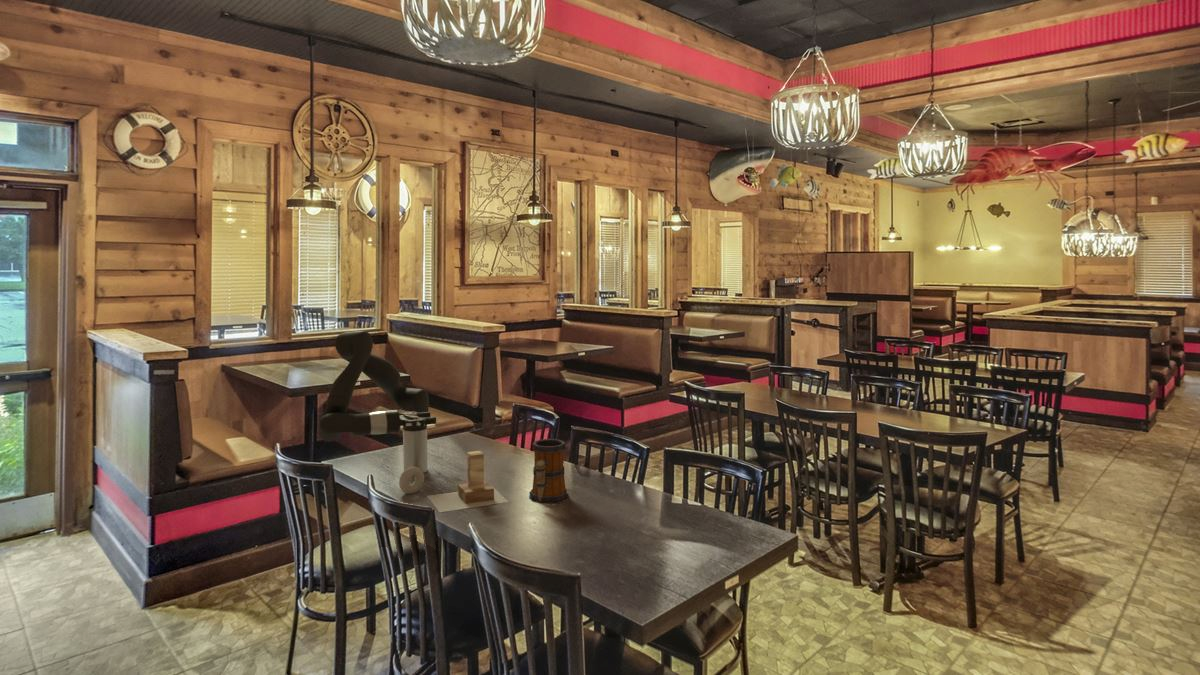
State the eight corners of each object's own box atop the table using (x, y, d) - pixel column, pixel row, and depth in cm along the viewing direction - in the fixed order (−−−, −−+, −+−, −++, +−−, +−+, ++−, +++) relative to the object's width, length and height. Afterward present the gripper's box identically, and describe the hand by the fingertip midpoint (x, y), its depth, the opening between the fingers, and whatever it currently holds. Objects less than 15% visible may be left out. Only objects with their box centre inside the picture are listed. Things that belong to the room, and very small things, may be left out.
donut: (403, 498, 242) (402, 470, 241) (397, 496, 244) (396, 469, 243) (426, 491, 249) (426, 464, 248) (420, 489, 252) (420, 462, 250)
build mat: (427, 497, 243) (427, 495, 243) (492, 488, 254) (492, 486, 254) (439, 513, 227) (439, 512, 227) (508, 503, 238) (508, 501, 238)
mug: (559, 511, 230) (560, 453, 228) (518, 508, 233) (518, 450, 231) (573, 493, 249) (573, 438, 247) (535, 490, 252) (535, 436, 250)
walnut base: (458, 495, 244) (457, 484, 244) (485, 491, 248) (485, 480, 248) (465, 504, 235) (465, 492, 235) (494, 499, 240) (494, 488, 239)
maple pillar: (467, 485, 242) (467, 452, 241) (480, 483, 244) (479, 450, 243) (471, 489, 238) (470, 455, 237) (483, 487, 240) (483, 453, 239)
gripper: (387, 415, 220) (437, 410, 227) (379, 407, 233) (428, 403, 240) (387, 438, 221) (438, 433, 228) (380, 428, 234) (428, 424, 241)
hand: (433, 417), depth 234 cm, fingers open, 8 cm apart
